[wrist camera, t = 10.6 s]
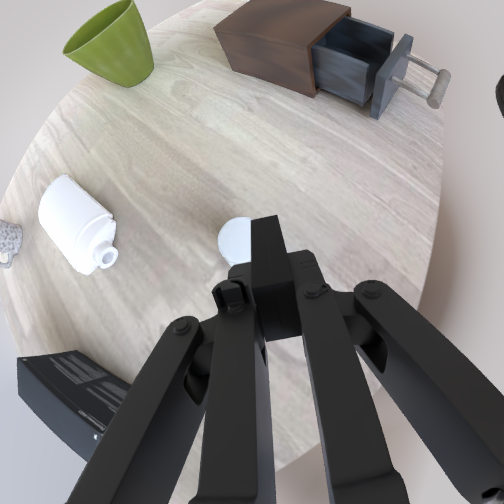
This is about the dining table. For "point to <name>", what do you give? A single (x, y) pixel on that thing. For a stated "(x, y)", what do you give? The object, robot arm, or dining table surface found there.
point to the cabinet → (278, 39)
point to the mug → (9, 240)
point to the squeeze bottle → (78, 225)
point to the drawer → (369, 65)
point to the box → (71, 396)
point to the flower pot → (113, 45)
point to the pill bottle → (236, 240)
